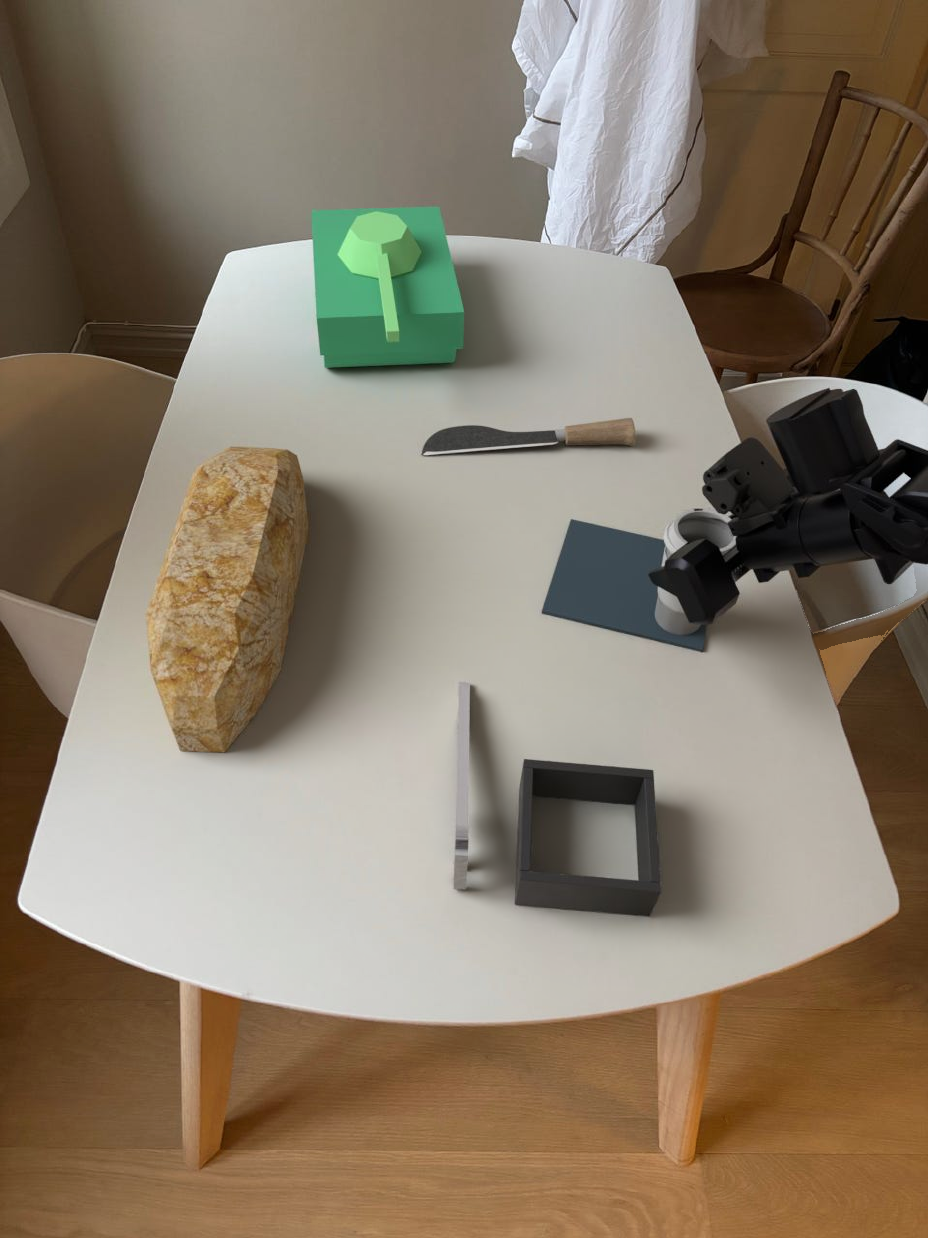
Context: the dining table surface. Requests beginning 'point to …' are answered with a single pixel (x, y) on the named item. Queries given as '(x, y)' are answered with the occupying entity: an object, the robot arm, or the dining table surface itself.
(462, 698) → the caliper
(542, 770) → the holder
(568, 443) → the hand tool
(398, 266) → the toy tank
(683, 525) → the cup
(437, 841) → the dining table surface
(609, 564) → the mat
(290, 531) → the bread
